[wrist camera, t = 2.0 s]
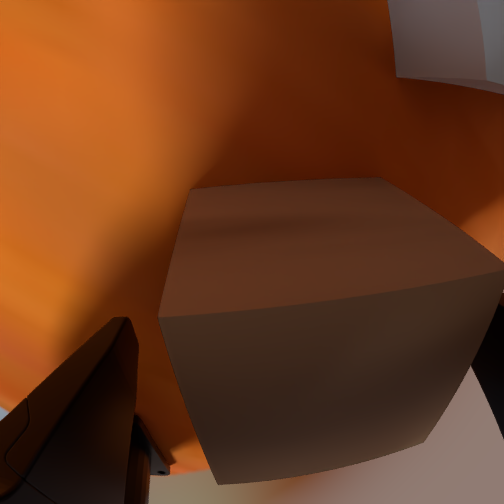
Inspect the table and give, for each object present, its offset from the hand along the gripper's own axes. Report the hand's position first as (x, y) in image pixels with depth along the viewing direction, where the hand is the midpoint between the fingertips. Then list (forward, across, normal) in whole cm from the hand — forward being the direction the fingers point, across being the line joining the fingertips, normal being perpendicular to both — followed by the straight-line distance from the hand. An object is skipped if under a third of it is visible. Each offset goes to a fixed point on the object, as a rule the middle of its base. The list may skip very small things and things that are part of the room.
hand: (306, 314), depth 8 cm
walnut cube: (+2, 0, 0) cm, 2 cm away
